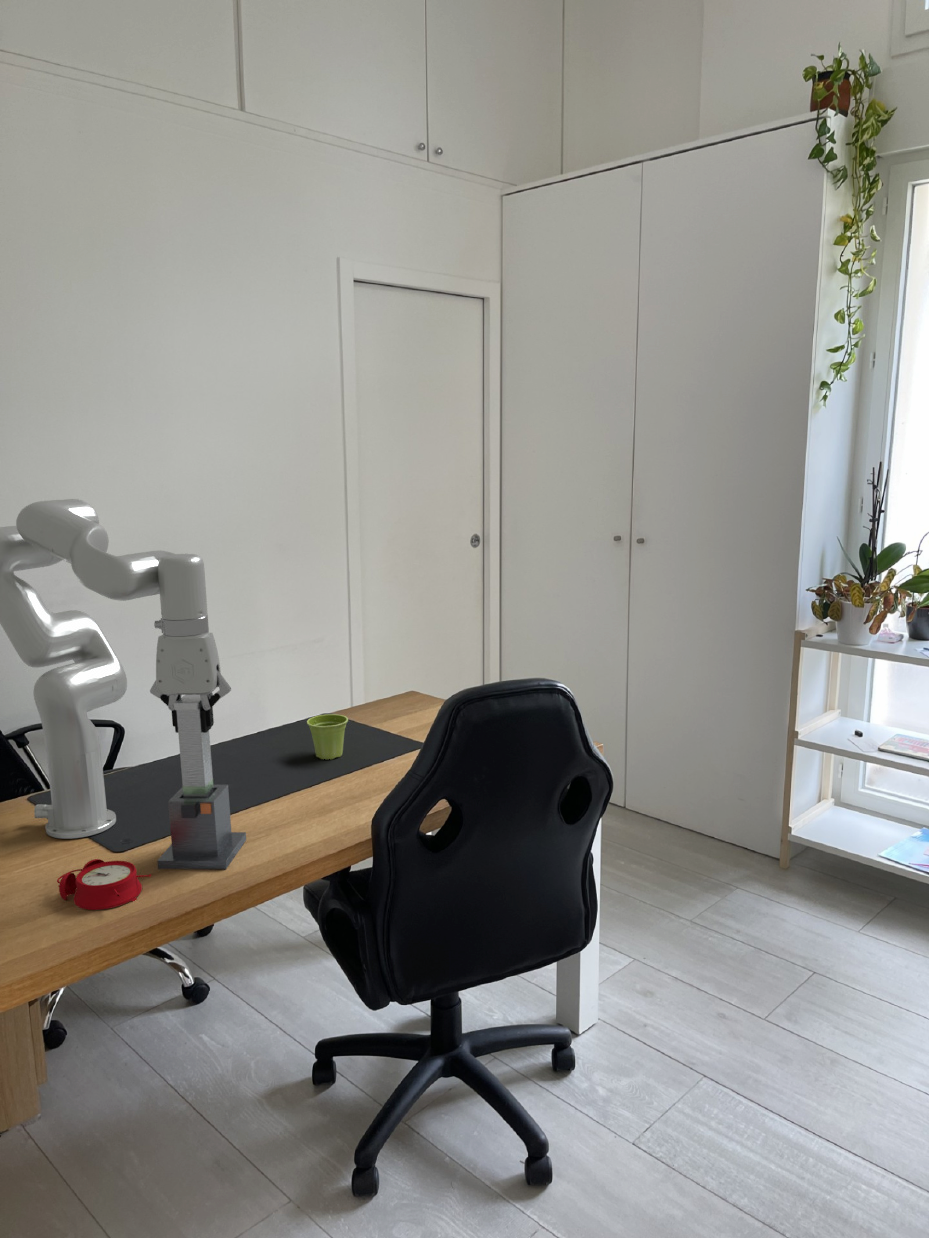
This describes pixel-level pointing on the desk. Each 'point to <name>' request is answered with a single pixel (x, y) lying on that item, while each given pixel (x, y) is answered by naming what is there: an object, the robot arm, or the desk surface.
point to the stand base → (201, 832)
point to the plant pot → (328, 735)
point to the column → (194, 748)
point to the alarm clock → (102, 884)
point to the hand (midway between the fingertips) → (193, 729)
